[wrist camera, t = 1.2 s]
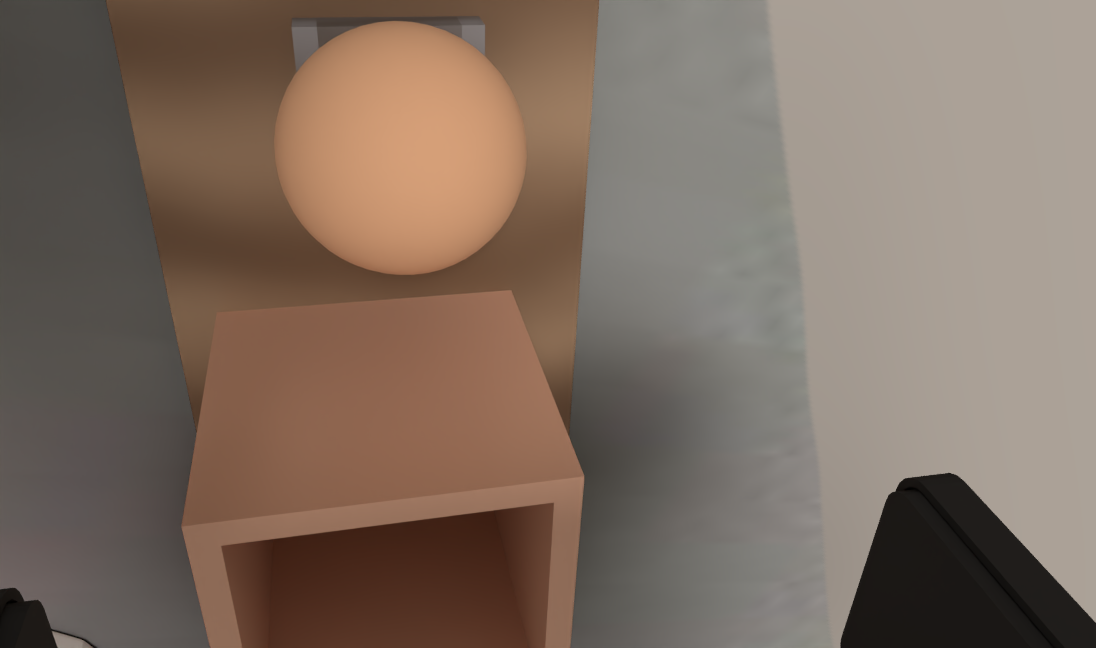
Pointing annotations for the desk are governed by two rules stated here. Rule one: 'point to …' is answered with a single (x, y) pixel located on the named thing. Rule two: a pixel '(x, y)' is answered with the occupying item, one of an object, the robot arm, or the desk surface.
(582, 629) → the desk surface
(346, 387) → the orange open box
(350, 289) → the board
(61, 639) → the white cup
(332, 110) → the ball
